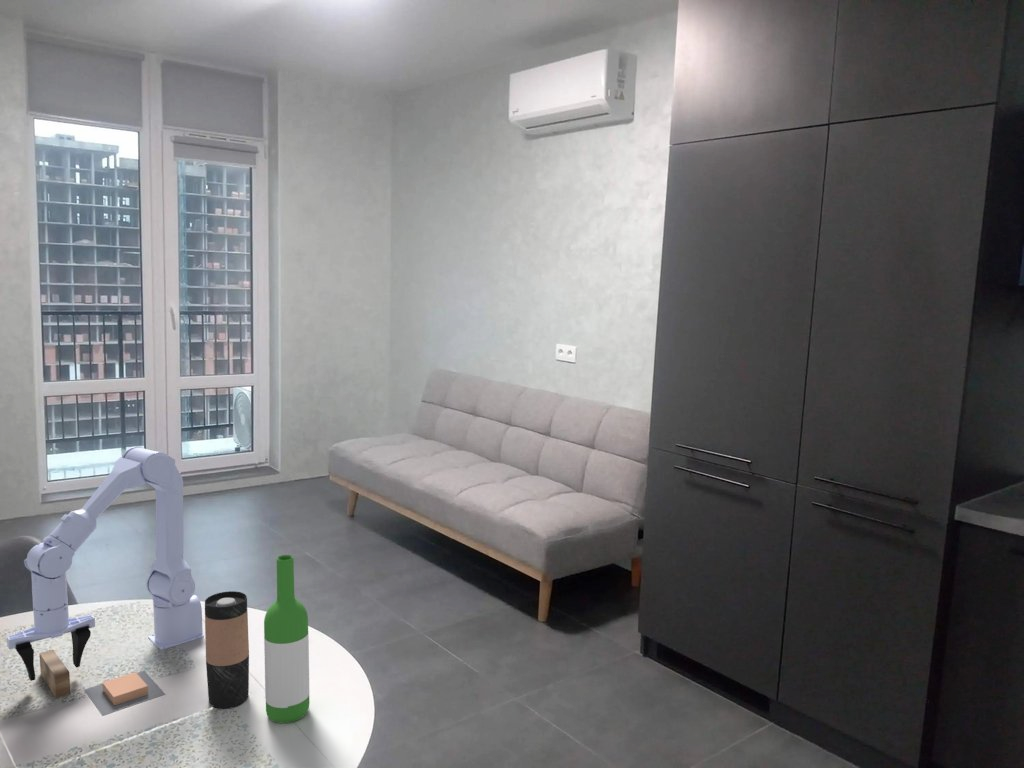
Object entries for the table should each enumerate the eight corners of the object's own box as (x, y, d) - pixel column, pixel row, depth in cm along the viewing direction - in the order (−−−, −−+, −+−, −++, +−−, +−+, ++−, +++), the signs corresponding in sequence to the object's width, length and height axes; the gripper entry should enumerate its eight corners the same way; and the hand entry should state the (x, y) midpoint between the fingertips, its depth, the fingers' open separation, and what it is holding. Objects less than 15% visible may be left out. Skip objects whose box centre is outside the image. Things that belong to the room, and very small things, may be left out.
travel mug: (258, 693, 146) (256, 594, 144) (231, 713, 139) (228, 610, 137) (226, 685, 149) (223, 588, 146) (198, 705, 142) (194, 603, 139)
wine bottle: (315, 717, 138) (313, 560, 134) (272, 730, 134) (268, 568, 130) (302, 698, 145) (300, 547, 141) (261, 709, 141) (257, 554, 137)
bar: (40, 676, 151) (39, 653, 150) (54, 672, 153) (53, 649, 152) (56, 701, 142) (55, 676, 142) (70, 696, 144) (69, 671, 144)
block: (135, 672, 149) (147, 685, 144) (135, 680, 149) (148, 694, 144) (102, 682, 145) (113, 697, 140) (102, 691, 145) (114, 705, 140)
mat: (144, 672, 153) (144, 670, 153) (165, 696, 145) (165, 694, 144) (84, 691, 146) (83, 689, 146) (102, 717, 137) (102, 715, 137)
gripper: (10, 622, 138) (15, 692, 139) (98, 601, 148) (101, 667, 149) (2, 610, 143) (7, 678, 144) (87, 590, 153) (91, 654, 154)
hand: (54, 671), depth 147 cm, fingers open, 7 cm apart
